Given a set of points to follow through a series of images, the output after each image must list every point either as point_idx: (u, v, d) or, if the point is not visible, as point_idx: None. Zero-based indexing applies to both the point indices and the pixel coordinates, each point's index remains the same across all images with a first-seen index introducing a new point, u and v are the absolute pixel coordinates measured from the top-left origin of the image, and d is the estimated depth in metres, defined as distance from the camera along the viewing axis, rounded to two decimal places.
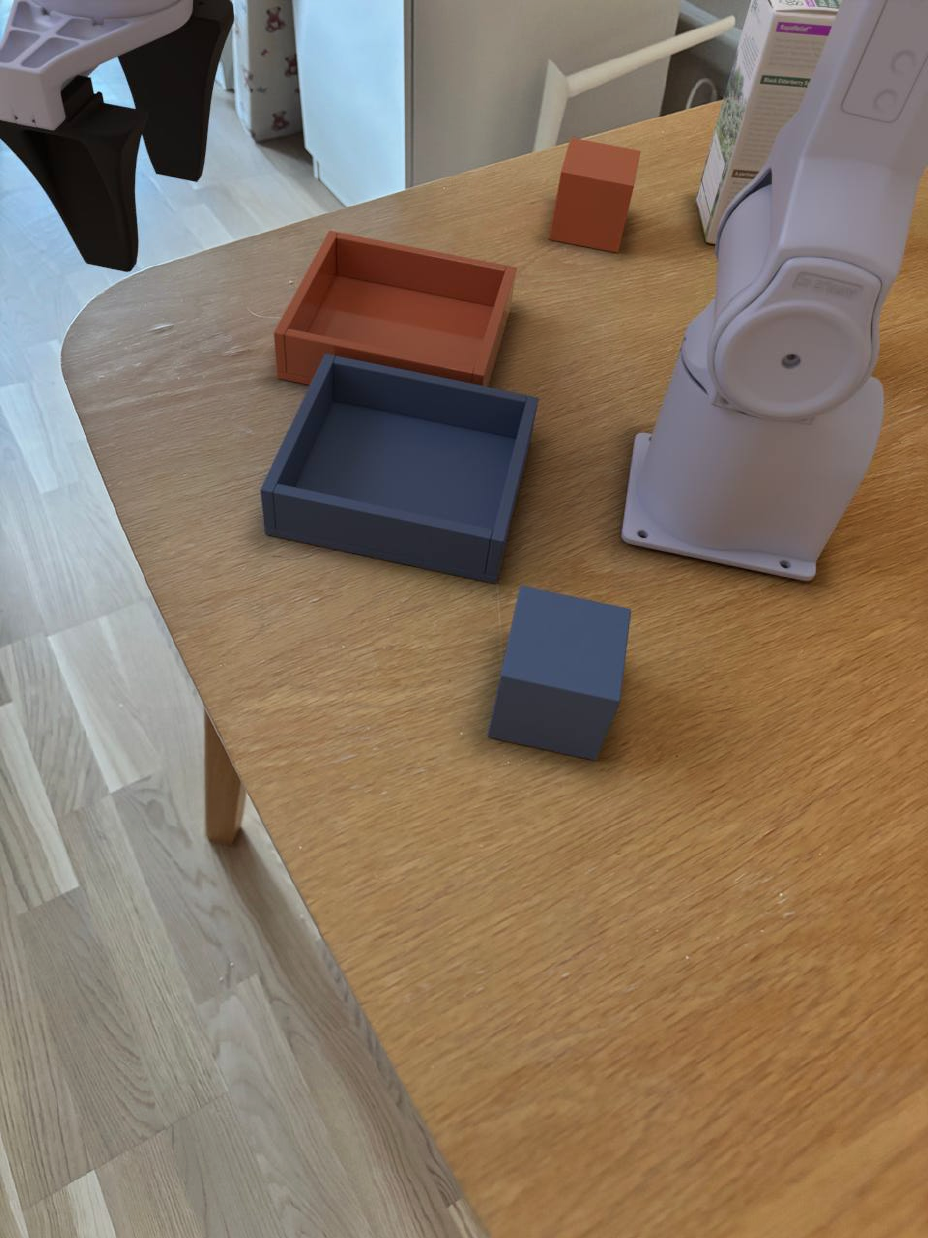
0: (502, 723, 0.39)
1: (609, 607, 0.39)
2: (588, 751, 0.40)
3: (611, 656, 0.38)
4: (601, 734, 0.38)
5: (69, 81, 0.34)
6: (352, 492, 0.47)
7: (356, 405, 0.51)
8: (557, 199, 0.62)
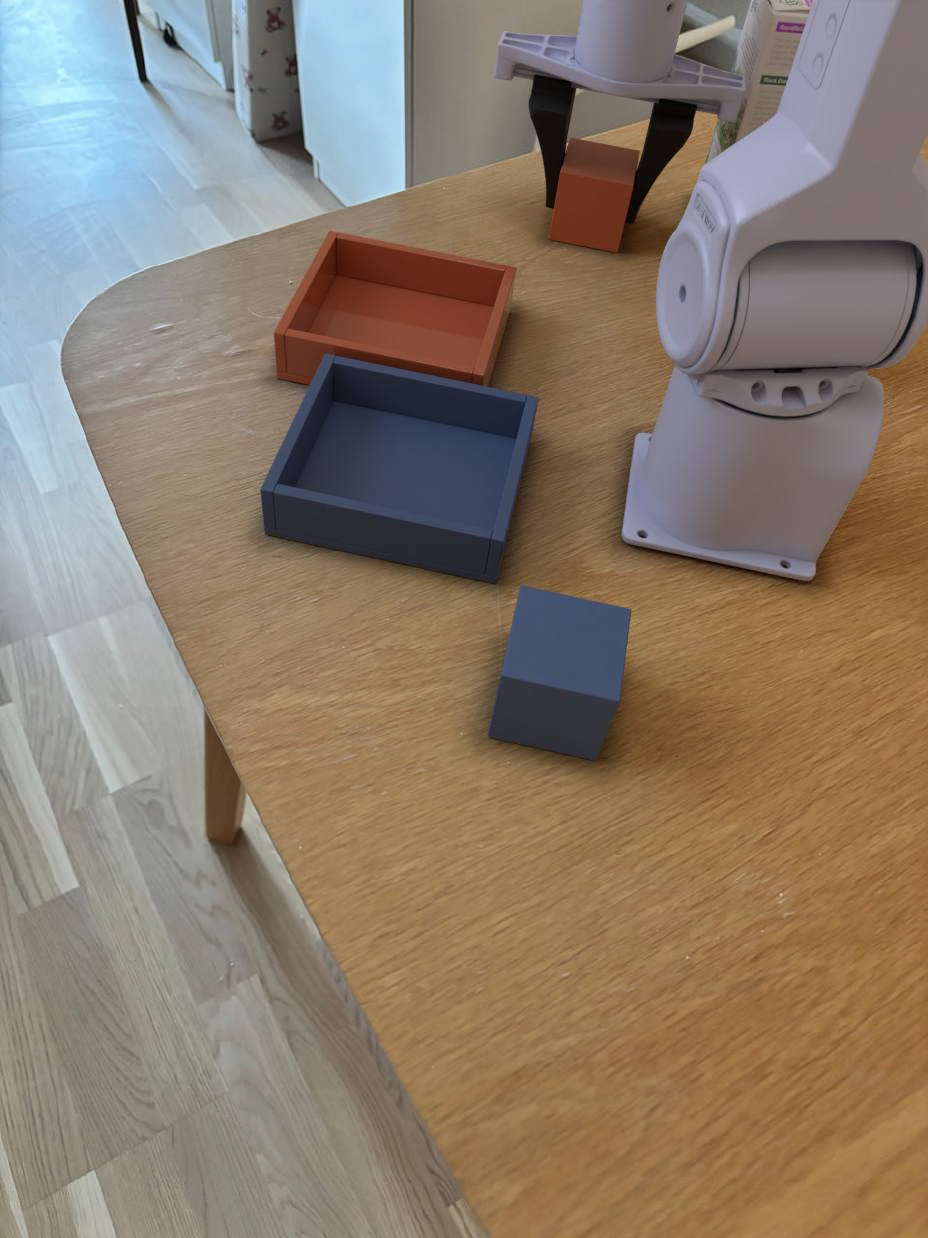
0: (502, 723, 0.39)
1: (609, 607, 0.39)
2: (588, 751, 0.40)
3: (611, 656, 0.38)
4: (601, 734, 0.38)
5: (541, 74, 0.58)
6: (352, 492, 0.47)
7: (356, 405, 0.51)
8: (556, 199, 0.62)
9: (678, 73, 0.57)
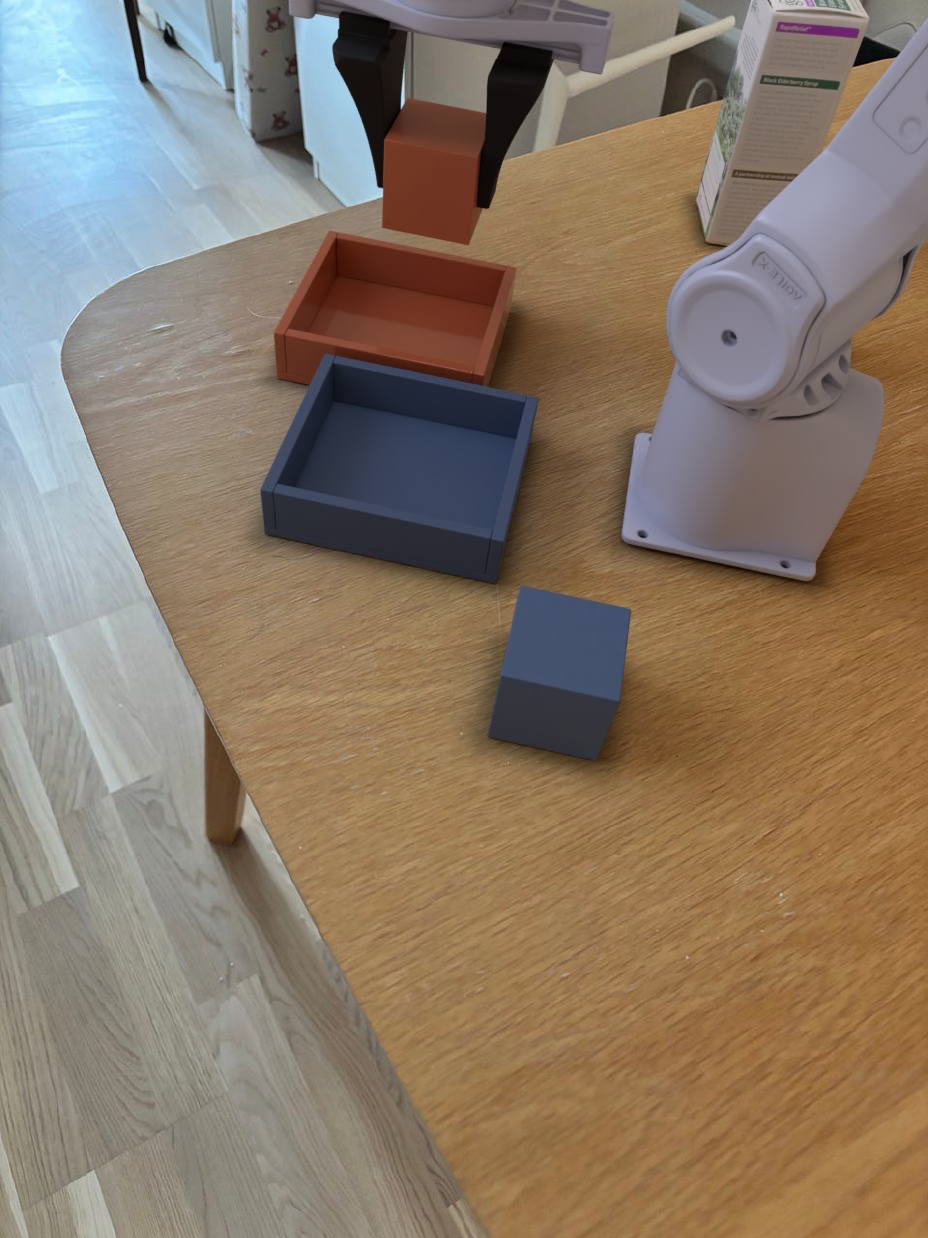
0: (502, 723, 0.39)
1: (609, 607, 0.39)
2: (588, 751, 0.40)
3: (611, 656, 0.38)
4: (601, 734, 0.38)
5: (350, 11, 0.44)
6: (352, 492, 0.47)
7: (356, 405, 0.51)
8: (385, 176, 0.48)
9: (524, 8, 0.43)
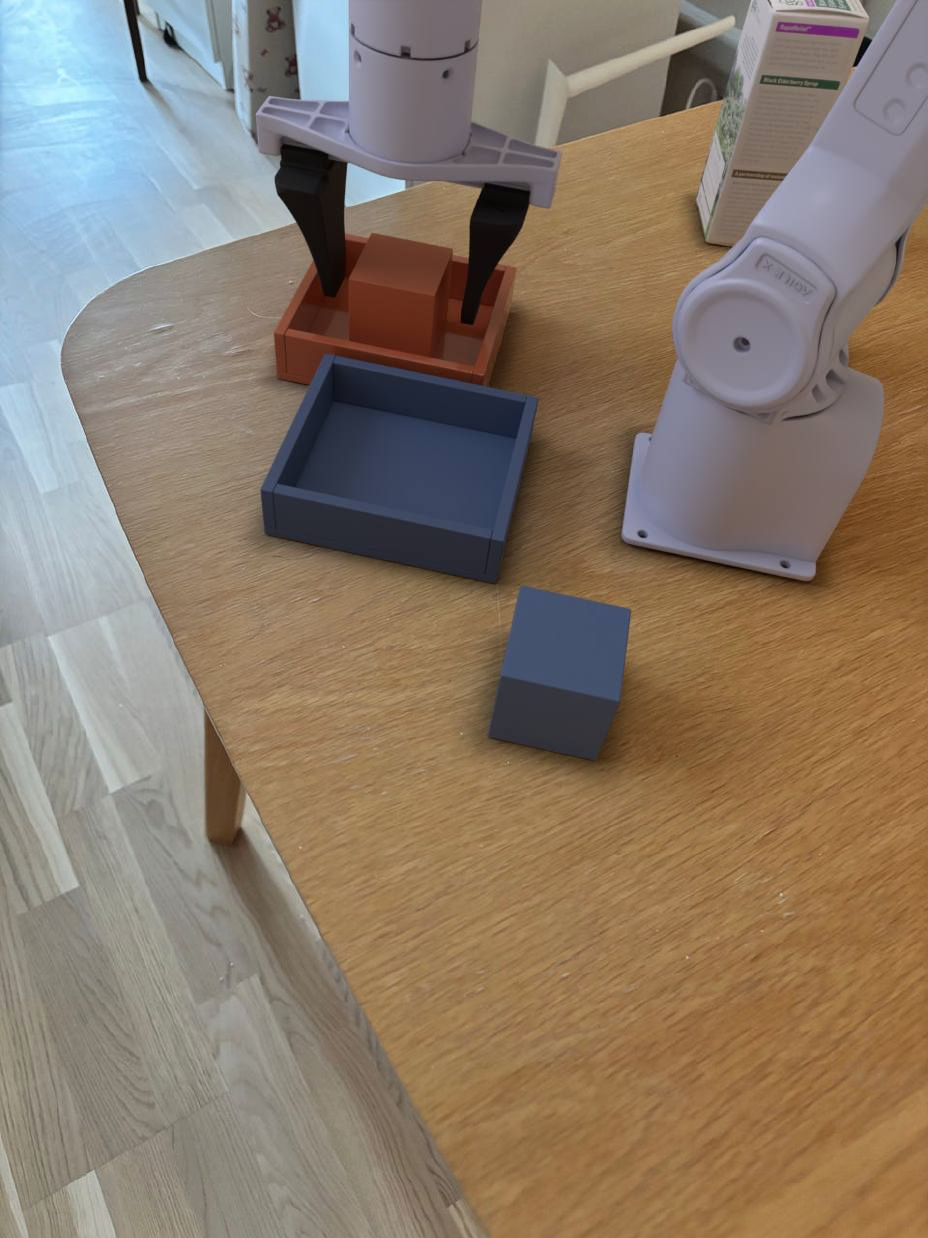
0: (502, 723, 0.39)
1: (609, 607, 0.39)
2: (588, 751, 0.40)
3: (611, 656, 0.38)
4: (601, 734, 0.38)
5: (315, 148, 0.47)
6: (352, 492, 0.47)
7: (356, 405, 0.51)
8: (350, 308, 0.52)
9: (477, 149, 0.46)
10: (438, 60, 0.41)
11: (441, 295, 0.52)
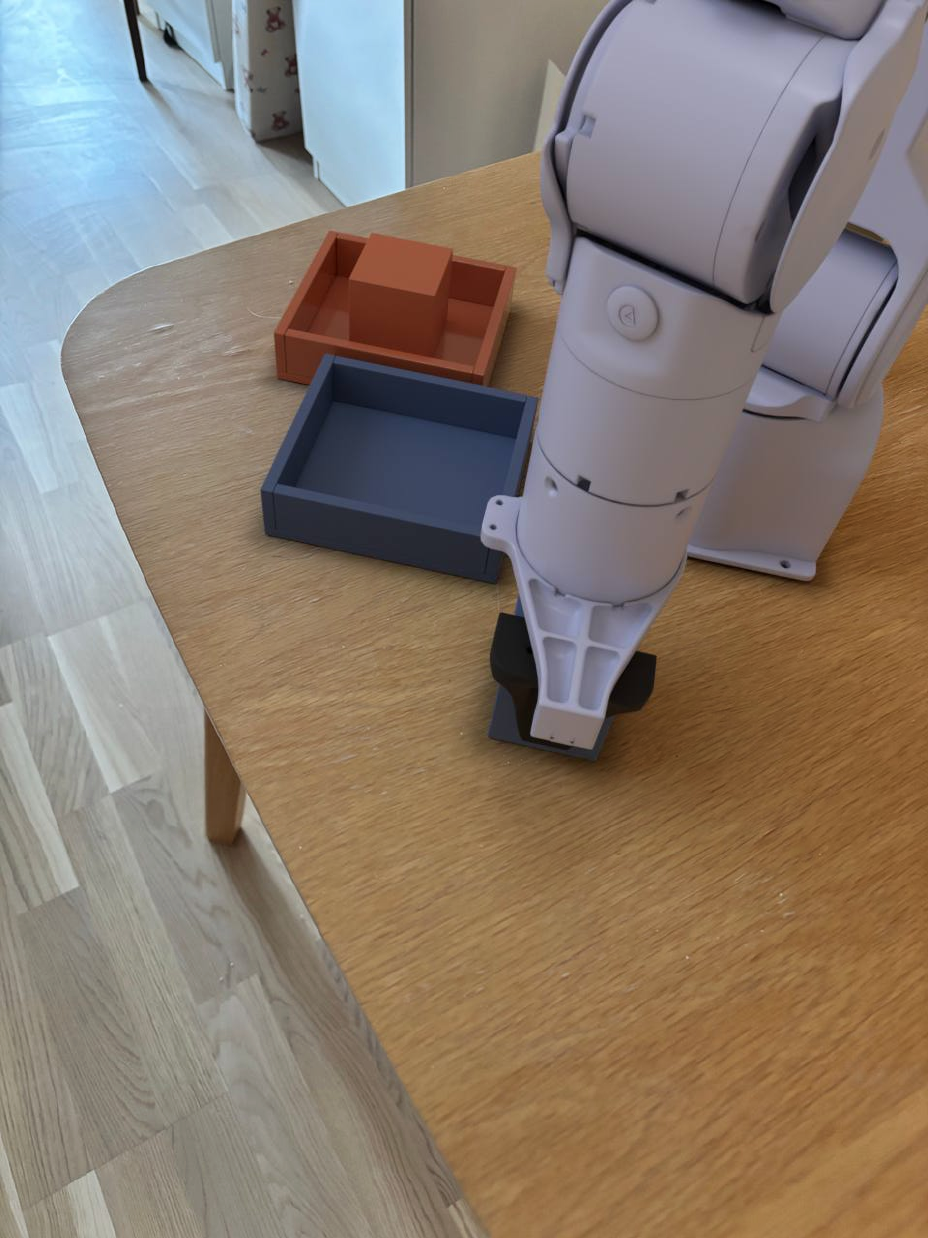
0: (502, 724, 0.39)
1: None
2: (588, 752, 0.40)
3: None
4: (601, 734, 0.38)
5: None
6: (352, 492, 0.47)
7: (356, 405, 0.51)
8: (350, 308, 0.52)
9: None
10: None
11: (441, 295, 0.52)
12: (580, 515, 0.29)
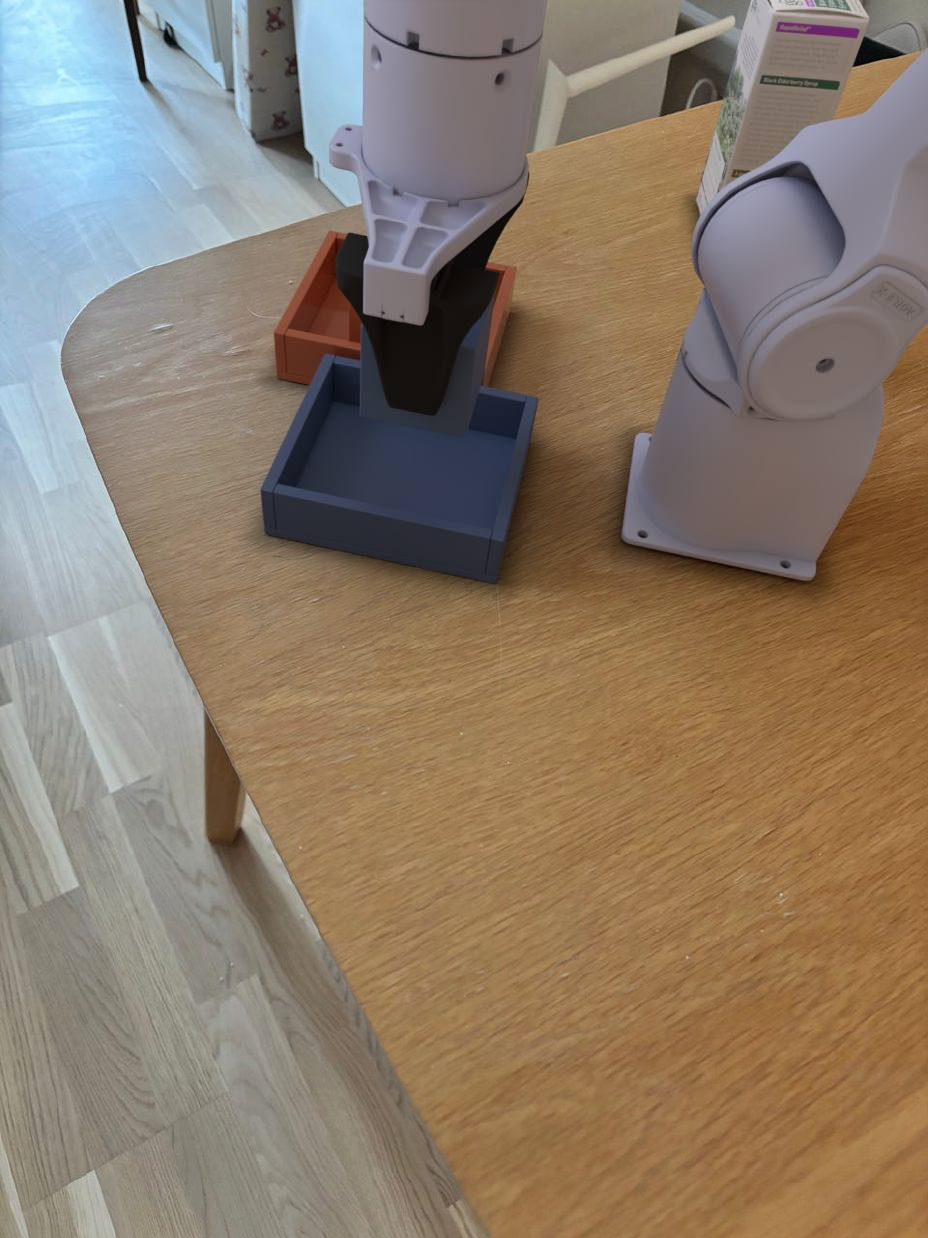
0: (371, 395, 0.40)
1: None
2: (455, 425, 0.41)
3: None
4: (464, 398, 0.39)
5: None
6: (352, 492, 0.47)
7: (356, 405, 0.51)
8: (350, 308, 0.52)
9: None
10: None
11: None
12: (403, 83, 0.30)
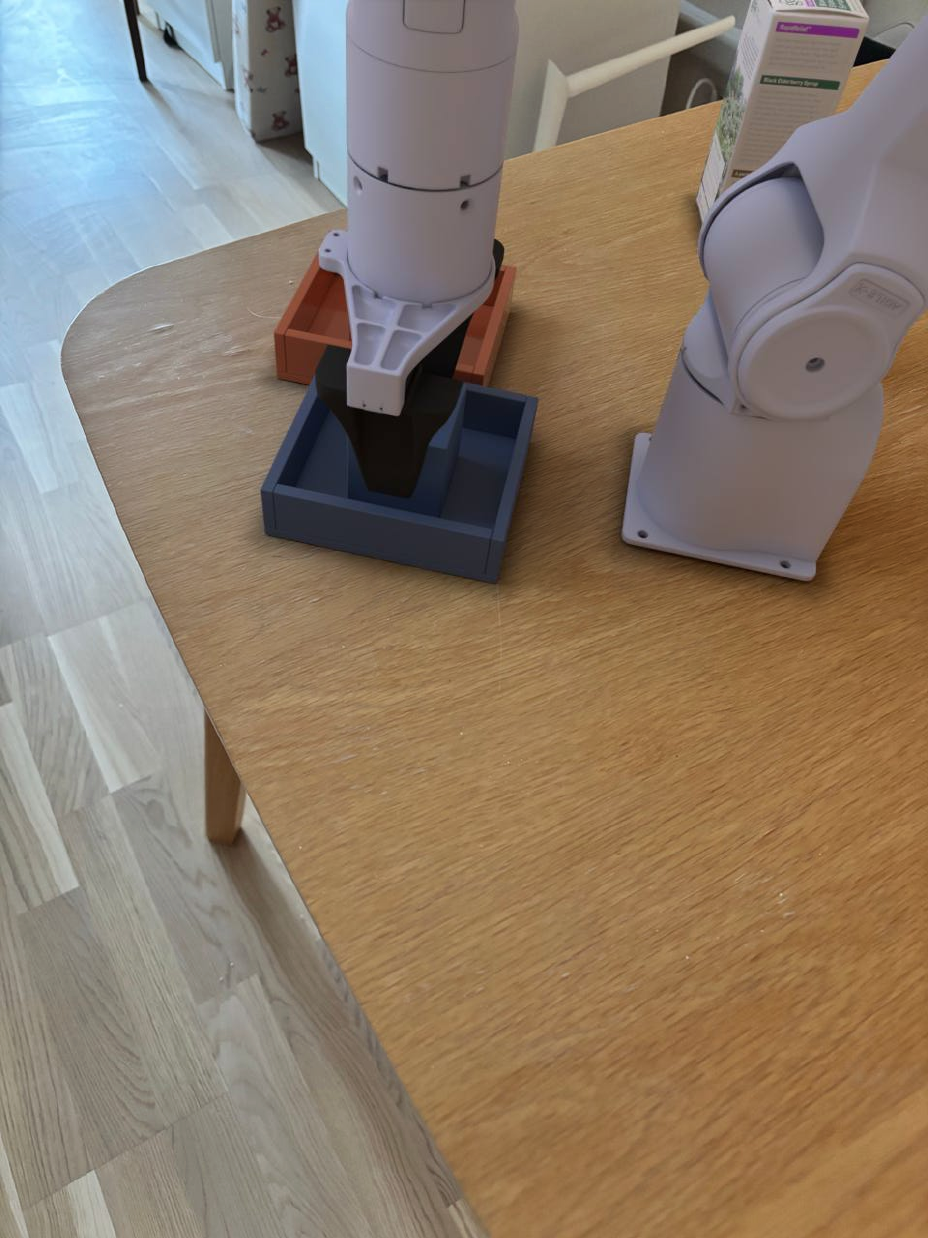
0: (356, 483, 0.46)
1: None
2: (431, 508, 0.46)
3: None
4: (438, 488, 0.45)
5: None
6: None
7: None
8: None
9: None
10: None
11: None
12: (381, 208, 0.35)
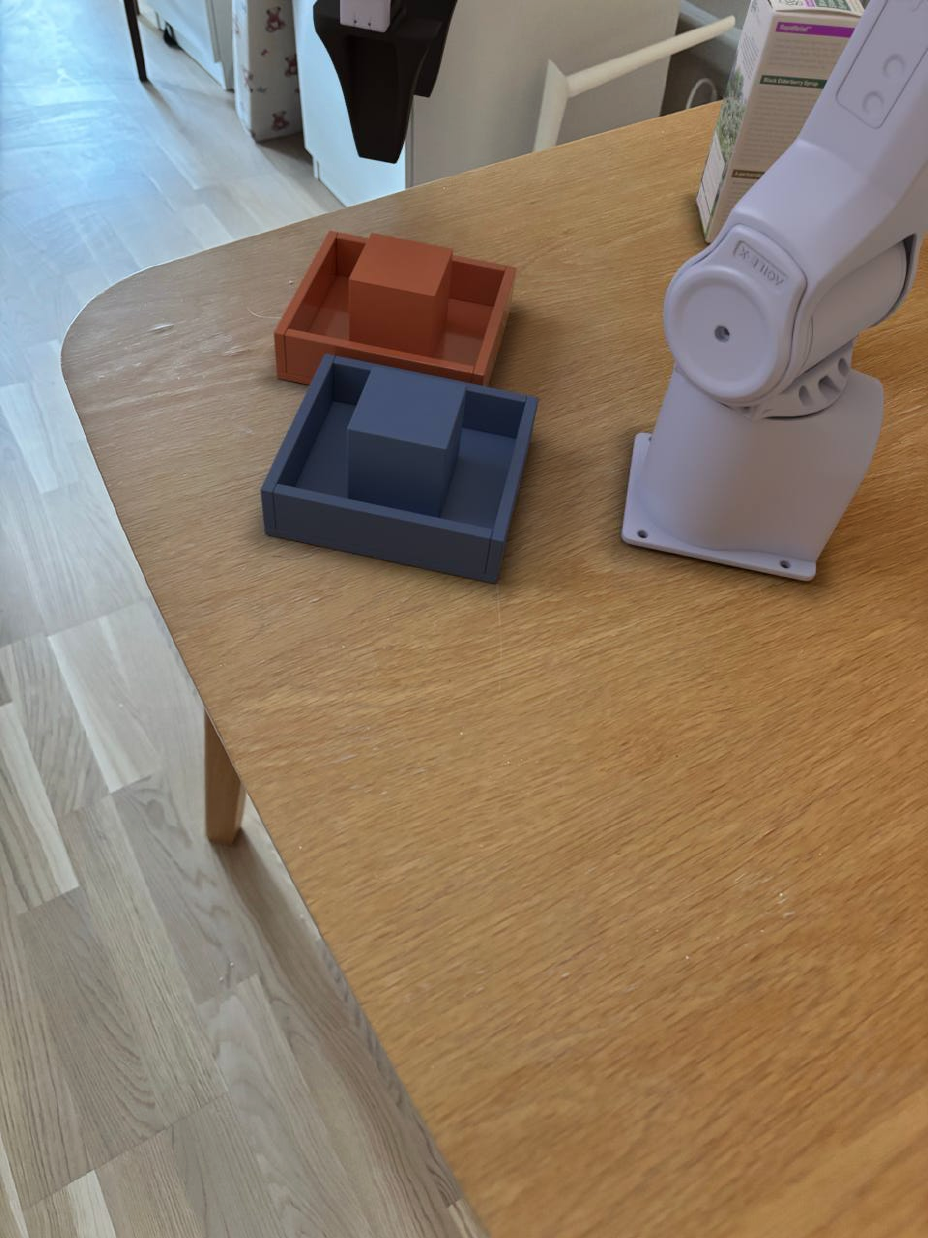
0: (356, 483, 0.46)
1: (447, 383, 0.46)
2: (431, 508, 0.46)
3: (444, 417, 0.45)
4: (438, 488, 0.45)
5: None
6: None
7: (356, 405, 0.51)
8: (350, 308, 0.52)
9: None
10: None
11: (441, 295, 0.52)
12: None
